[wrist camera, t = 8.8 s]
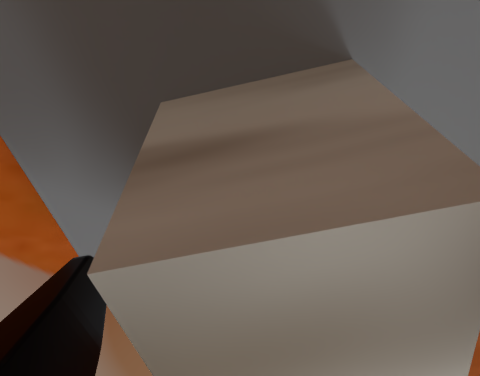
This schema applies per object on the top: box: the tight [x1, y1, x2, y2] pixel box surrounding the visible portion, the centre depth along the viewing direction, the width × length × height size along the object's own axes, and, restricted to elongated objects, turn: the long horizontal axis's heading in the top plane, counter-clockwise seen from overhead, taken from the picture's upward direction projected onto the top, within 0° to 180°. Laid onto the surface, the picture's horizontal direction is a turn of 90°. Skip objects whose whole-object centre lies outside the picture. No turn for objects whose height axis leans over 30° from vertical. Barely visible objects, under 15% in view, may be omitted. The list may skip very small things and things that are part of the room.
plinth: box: [0, 0, 480, 257], centre depth 13 cm, size 14×14×5 cm
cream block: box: [87, 59, 480, 376], centre depth 8 cm, size 5×5×6 cm
